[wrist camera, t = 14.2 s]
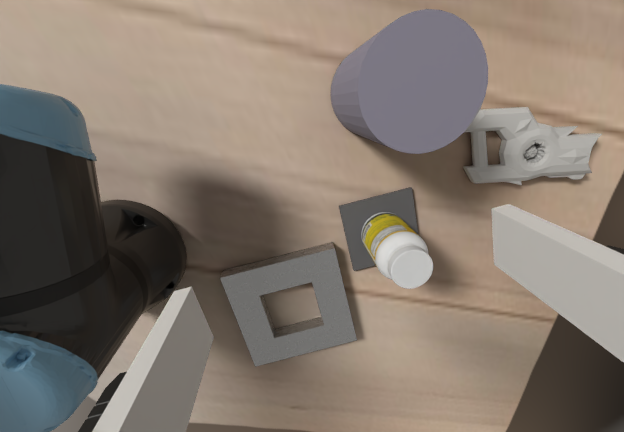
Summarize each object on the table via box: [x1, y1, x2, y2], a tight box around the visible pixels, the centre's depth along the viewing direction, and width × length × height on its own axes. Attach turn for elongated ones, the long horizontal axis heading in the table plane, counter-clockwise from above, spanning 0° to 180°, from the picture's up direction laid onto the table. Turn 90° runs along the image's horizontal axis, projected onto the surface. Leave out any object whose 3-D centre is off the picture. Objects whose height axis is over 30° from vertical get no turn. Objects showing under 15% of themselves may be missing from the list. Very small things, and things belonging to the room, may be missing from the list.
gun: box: [463, 107, 602, 185], centre depth 41 cm, size 18×4×10 cm
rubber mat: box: [339, 188, 418, 271], centre depth 44 cm, size 10×10×1 cm
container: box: [331, 9, 488, 154], centre depth 32 cm, size 10×10×15 cm
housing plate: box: [220, 242, 357, 367], centre depth 47 cm, size 16×16×2 cm
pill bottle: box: [361, 212, 433, 289], centre depth 39 cm, size 6×6×11 cm
